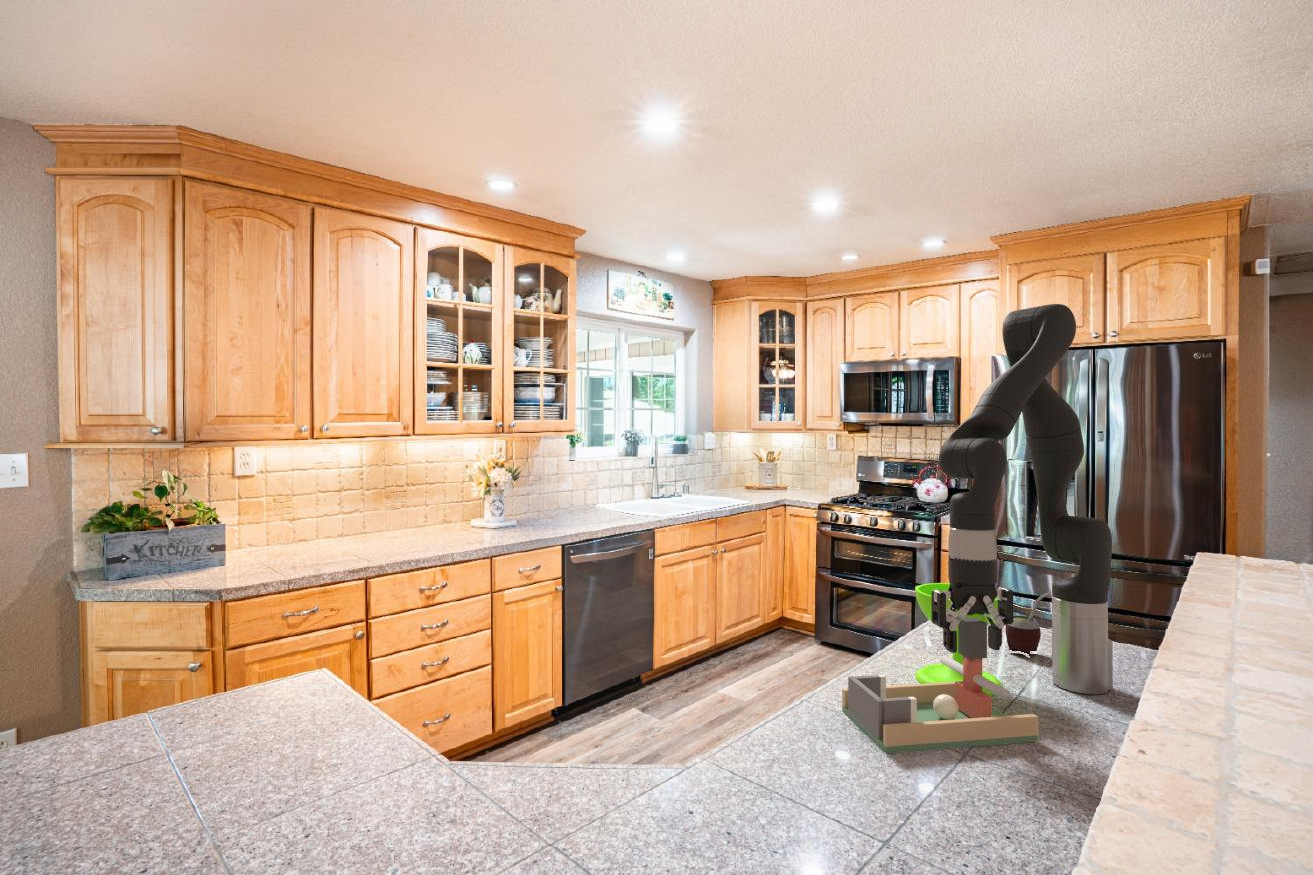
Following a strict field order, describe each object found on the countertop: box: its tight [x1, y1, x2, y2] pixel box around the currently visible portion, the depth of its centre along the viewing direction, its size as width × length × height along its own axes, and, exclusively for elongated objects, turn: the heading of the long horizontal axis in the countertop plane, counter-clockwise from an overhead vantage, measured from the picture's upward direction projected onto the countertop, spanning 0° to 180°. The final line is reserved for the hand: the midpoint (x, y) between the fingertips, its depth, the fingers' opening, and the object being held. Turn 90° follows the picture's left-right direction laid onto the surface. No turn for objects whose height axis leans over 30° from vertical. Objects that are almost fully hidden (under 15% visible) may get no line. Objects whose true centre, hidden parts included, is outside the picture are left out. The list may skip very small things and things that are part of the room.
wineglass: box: [914, 582, 1003, 697], centre depth 132 cm, size 16×16×18 cm
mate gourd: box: [1004, 591, 1052, 654], centre depth 148 cm, size 8×8×15 cm
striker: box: [939, 618, 1012, 718], centre depth 112 cm, size 3×17×16 cm, turn 8°
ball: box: [933, 694, 959, 720], centre depth 112 cm, size 4×4×4 cm
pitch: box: [841, 674, 1039, 754], centre depth 111 cm, size 26×16×7 cm, turn 98°
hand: (972, 649), depth 112 cm, fingers open, 7 cm apart
